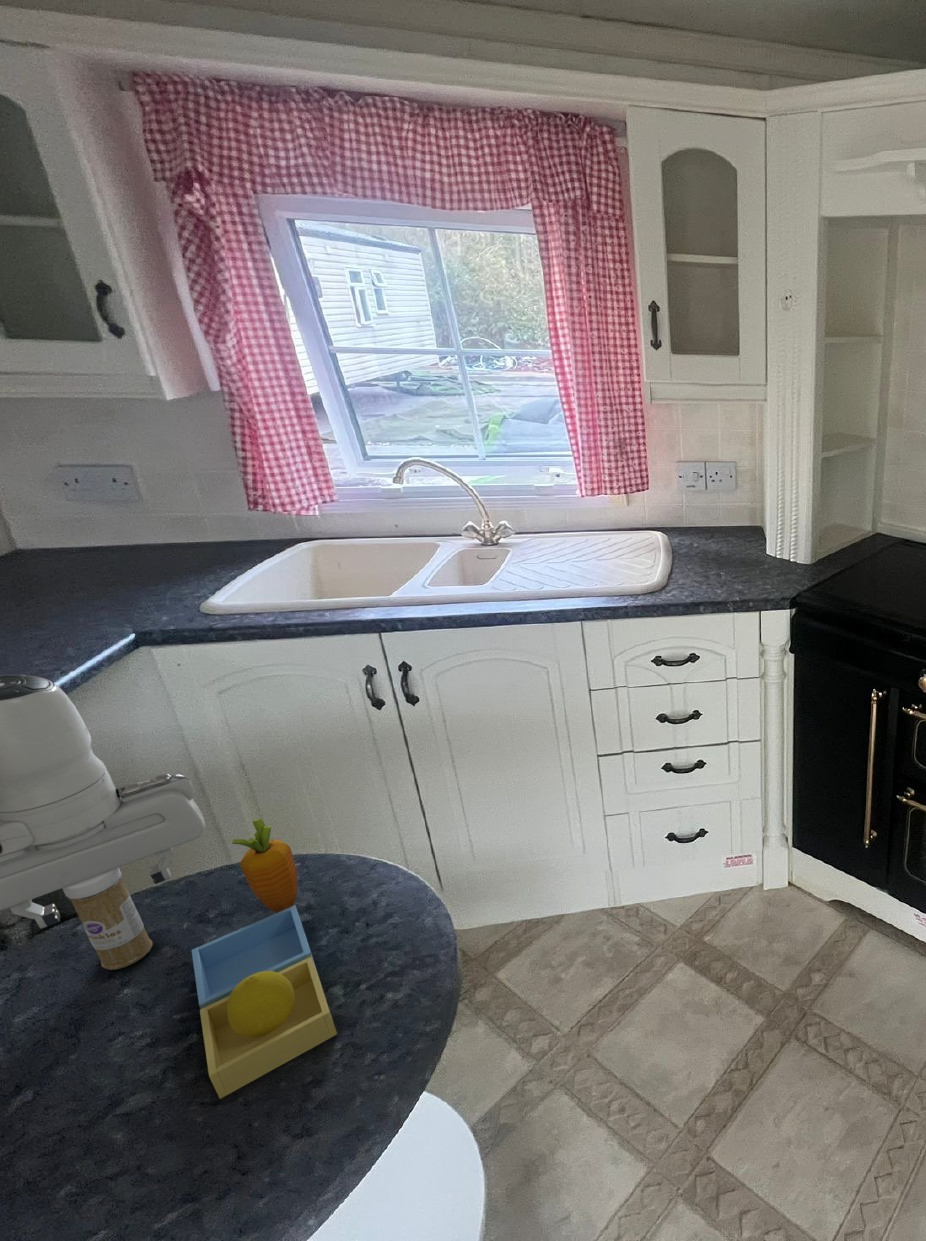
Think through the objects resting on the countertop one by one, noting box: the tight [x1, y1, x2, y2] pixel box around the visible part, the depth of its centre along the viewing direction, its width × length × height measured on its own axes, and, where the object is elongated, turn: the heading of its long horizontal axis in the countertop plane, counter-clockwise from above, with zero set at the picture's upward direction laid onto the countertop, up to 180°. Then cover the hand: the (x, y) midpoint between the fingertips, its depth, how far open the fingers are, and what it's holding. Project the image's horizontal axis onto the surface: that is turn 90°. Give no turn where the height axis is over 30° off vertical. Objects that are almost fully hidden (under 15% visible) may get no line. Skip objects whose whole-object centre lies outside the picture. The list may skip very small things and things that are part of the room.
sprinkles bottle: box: [61, 867, 154, 971], centre depth 83 cm, size 5×5×14 cm
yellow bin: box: [199, 956, 338, 1100], centre depth 77 cm, size 10×10×4 cm
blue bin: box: [190, 904, 319, 1010], centre depth 84 cm, size 10×10×4 cm
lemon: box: [227, 971, 295, 1037], centre depth 76 cm, size 6×6×8 cm
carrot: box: [231, 818, 298, 914], centre depth 90 cm, size 5×5×15 cm
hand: (109, 899), depth 83 cm, fingers open, 8 cm apart
